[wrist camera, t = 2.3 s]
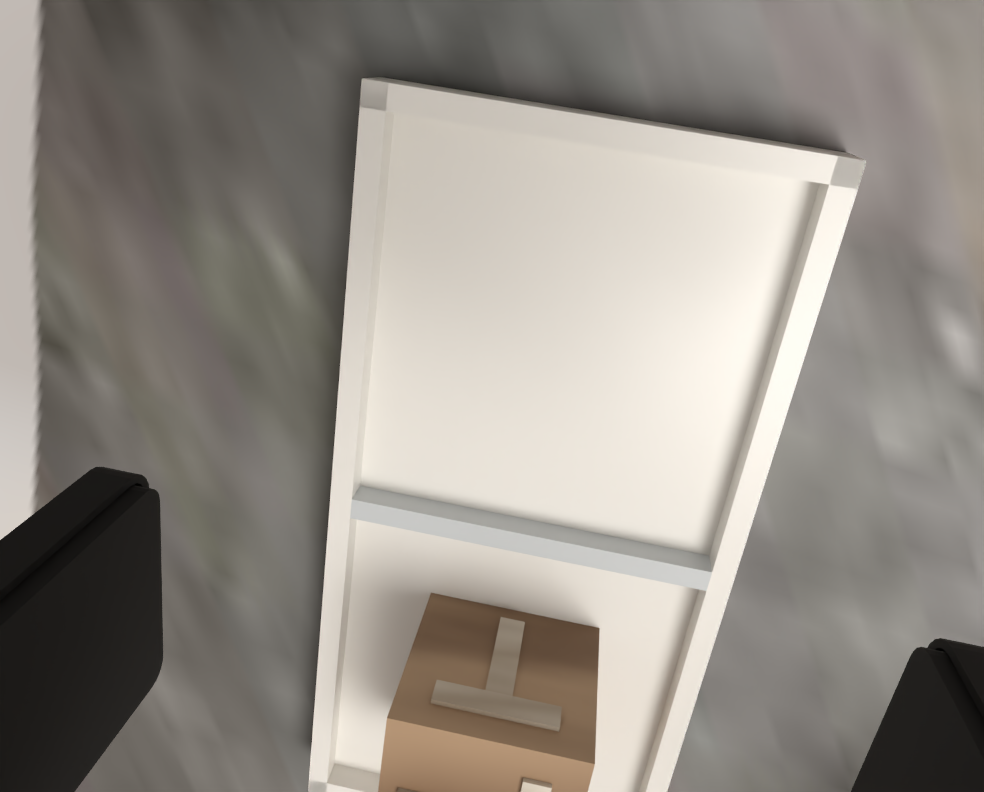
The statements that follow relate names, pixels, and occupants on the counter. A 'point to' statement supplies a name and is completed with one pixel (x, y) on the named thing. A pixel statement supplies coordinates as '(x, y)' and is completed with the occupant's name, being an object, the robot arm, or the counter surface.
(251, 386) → the counter surface
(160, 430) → the counter surface
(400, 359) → the tray
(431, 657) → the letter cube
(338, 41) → the counter surface
